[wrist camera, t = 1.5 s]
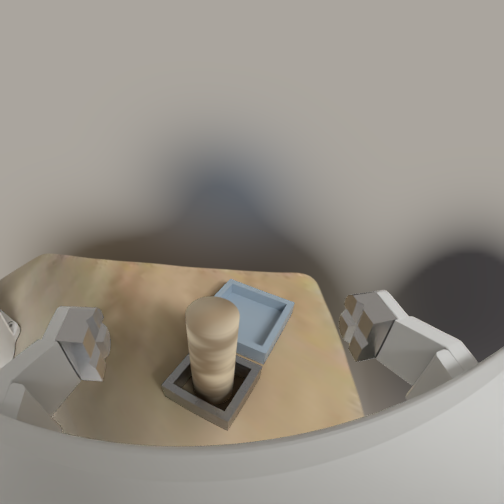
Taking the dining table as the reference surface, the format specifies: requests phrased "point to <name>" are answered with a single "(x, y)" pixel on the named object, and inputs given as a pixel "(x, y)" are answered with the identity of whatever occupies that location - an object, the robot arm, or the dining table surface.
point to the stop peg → (212, 347)
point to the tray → (257, 318)
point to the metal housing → (203, 408)
